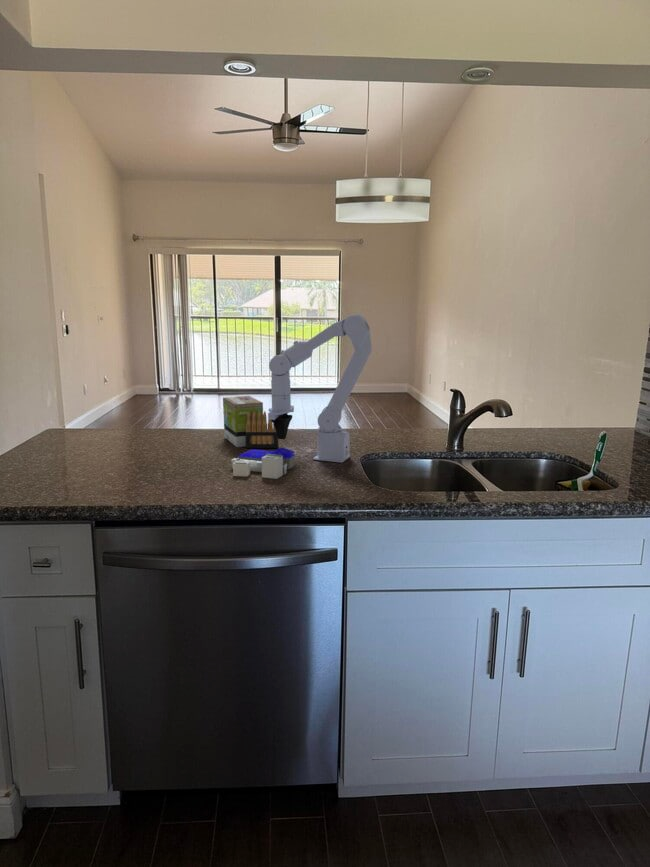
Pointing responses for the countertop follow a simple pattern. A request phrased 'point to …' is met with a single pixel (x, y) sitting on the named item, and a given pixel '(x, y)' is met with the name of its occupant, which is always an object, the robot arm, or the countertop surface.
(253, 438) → the ammunition clip
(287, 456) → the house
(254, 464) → the rail
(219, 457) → the countertop surface
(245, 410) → the tea box
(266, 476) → the block
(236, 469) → the block
